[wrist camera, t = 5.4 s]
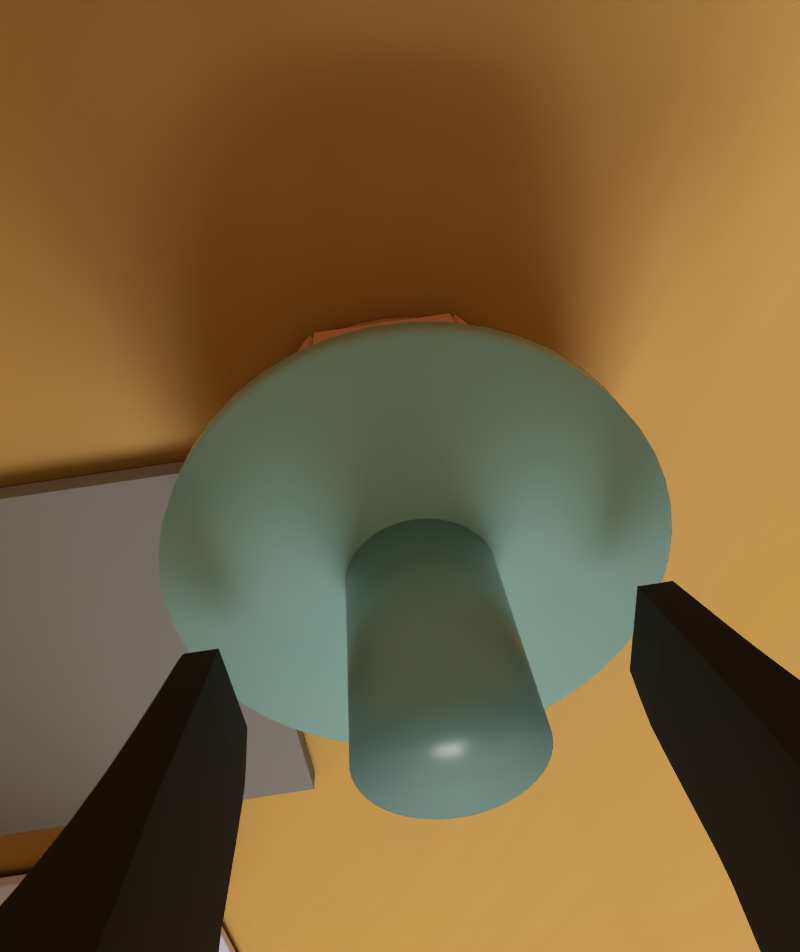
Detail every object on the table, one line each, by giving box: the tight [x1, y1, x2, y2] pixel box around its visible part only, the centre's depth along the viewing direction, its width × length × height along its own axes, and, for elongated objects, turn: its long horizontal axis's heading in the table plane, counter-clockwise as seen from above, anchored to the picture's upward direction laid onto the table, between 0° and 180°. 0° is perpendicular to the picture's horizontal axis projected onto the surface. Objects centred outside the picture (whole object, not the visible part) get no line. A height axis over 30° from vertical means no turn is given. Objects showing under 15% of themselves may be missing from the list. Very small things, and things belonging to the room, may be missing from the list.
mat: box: [0, 461, 315, 836], centre depth 20 cm, size 13×12×1 cm
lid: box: [159, 322, 672, 819], centre depth 12 cm, size 10×10×5 cm
